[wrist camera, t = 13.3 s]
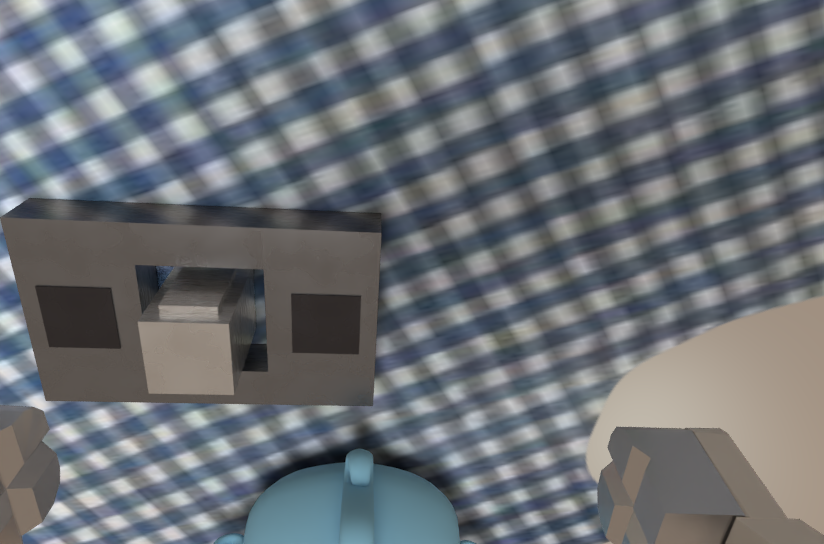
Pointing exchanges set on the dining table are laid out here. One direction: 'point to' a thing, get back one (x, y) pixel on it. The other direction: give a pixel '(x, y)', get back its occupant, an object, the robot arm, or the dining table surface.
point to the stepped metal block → (198, 331)
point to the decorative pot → (350, 508)
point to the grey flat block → (197, 247)
